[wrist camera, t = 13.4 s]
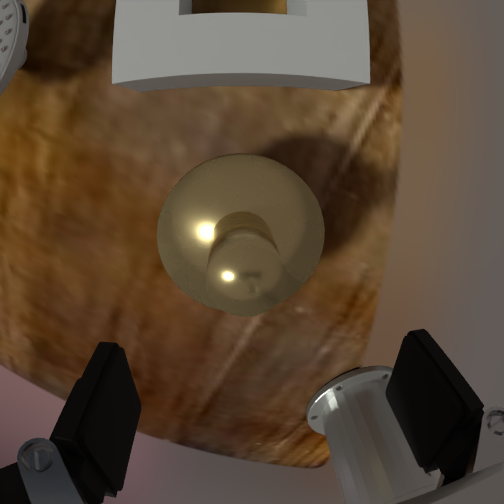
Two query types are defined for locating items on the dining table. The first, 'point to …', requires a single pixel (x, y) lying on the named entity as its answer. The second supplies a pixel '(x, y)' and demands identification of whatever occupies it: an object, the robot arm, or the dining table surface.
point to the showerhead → (12, 39)
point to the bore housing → (241, 46)
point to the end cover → (240, 233)
